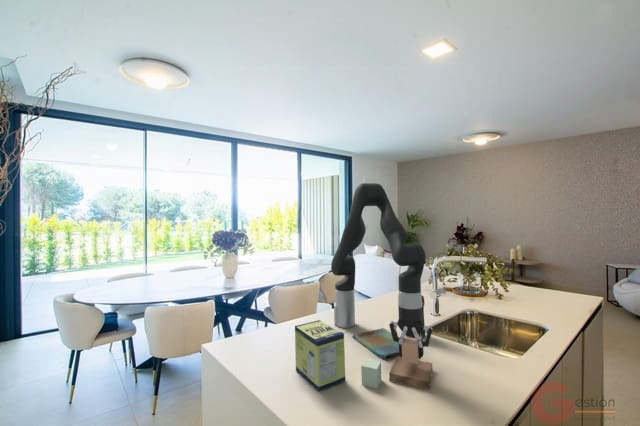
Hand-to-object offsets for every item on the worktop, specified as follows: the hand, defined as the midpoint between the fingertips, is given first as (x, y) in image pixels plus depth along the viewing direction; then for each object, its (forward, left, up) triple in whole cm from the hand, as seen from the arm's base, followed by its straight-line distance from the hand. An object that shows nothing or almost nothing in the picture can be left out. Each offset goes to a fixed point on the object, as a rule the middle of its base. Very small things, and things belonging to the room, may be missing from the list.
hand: (411, 355), depth 98 cm
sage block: (-11, -9, -7) cm, 16 cm away
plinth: (0, 0, -6) cm, 6 cm away
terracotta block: (0, 0, -1) cm, 1 cm away
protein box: (-28, -12, -7) cm, 31 cm away
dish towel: (-14, +20, -7) cm, 26 cm away
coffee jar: (-4, +34, -7) cm, 35 cm away
